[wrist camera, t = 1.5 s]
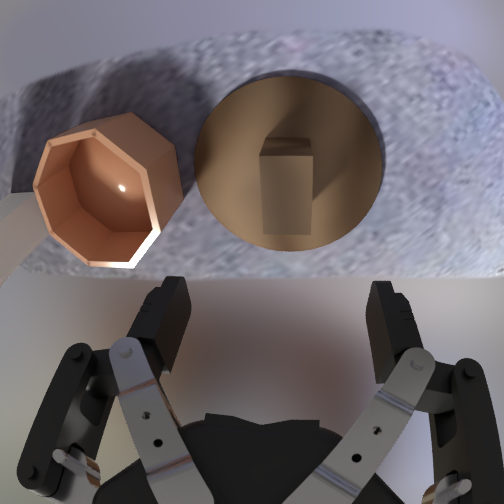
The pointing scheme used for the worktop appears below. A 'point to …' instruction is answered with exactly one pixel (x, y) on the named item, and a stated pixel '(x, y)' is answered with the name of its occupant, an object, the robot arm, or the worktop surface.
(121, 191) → the bowl
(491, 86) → the worktop surface
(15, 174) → the worktop surface
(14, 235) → the milk
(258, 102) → the lid
